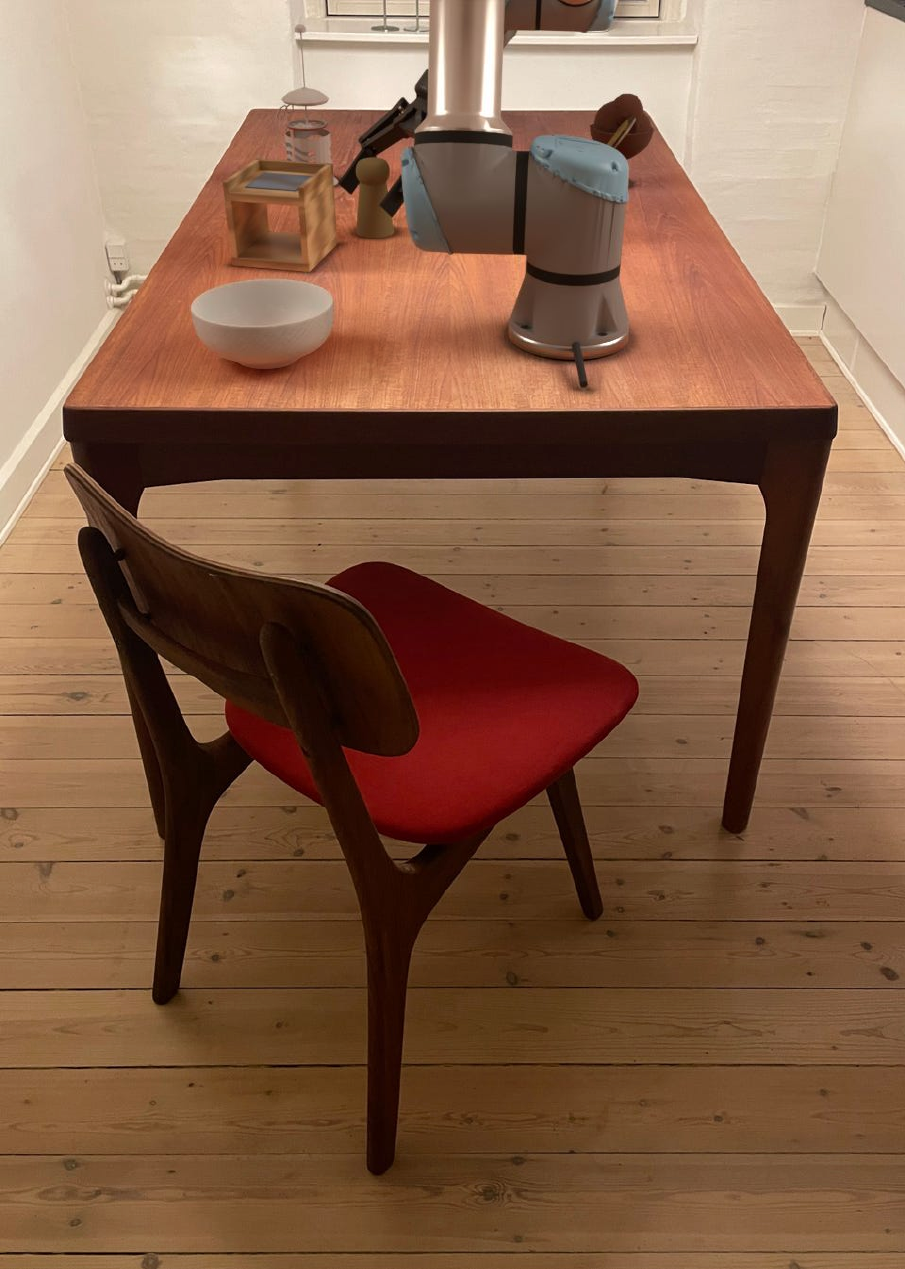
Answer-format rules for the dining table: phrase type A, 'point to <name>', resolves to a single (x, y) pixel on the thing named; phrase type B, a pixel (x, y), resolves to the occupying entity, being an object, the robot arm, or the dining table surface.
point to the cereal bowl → (264, 321)
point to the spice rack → (281, 187)
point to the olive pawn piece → (373, 199)
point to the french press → (306, 124)
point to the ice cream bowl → (614, 117)
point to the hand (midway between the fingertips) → (364, 200)
